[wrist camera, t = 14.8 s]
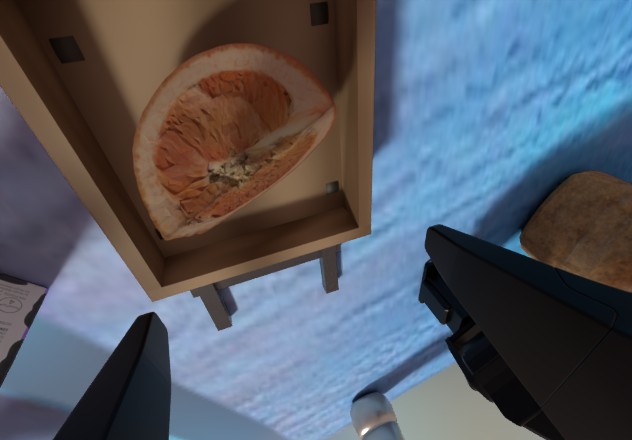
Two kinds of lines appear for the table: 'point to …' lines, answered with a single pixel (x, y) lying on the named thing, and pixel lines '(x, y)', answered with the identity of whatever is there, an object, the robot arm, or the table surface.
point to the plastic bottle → (375, 418)
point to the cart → (139, 86)
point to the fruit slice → (225, 134)
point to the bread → (585, 229)
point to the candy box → (16, 317)
